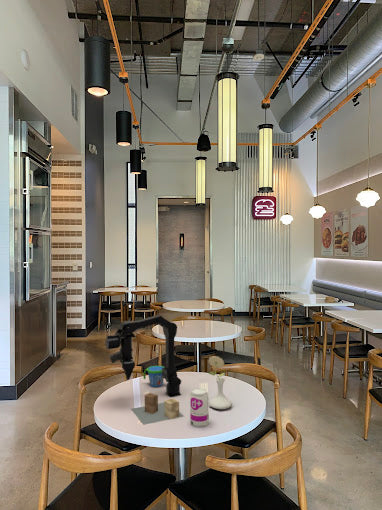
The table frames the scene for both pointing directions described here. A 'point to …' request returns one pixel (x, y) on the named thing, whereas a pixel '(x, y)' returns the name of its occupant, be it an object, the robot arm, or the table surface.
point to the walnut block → (151, 403)
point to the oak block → (171, 408)
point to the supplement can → (199, 408)
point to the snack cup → (155, 376)
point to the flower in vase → (219, 386)
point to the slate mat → (152, 418)
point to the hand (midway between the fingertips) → (127, 376)
